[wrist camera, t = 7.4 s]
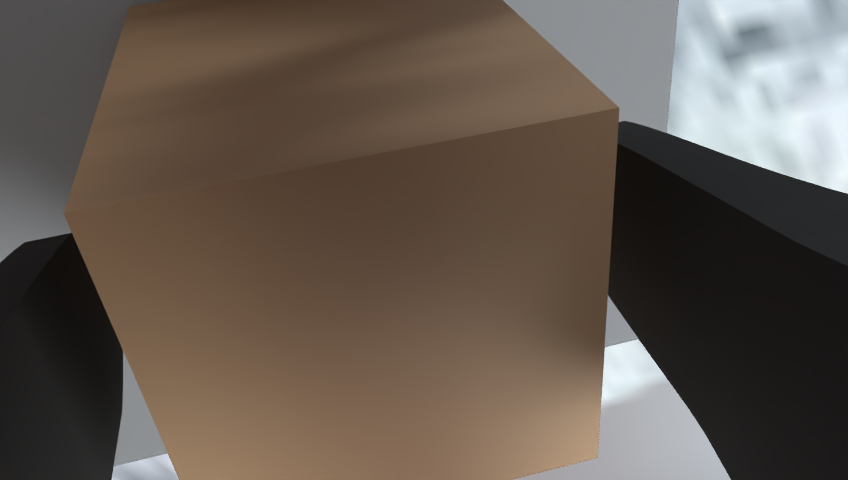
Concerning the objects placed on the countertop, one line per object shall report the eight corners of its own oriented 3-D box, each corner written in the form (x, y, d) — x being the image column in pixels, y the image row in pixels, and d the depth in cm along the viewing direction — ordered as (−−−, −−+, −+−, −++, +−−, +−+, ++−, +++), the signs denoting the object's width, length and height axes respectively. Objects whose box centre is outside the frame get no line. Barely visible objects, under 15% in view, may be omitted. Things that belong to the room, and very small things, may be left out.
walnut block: (453, -46, 12) (618, 107, 7) (471, 219, 15) (597, 457, 10) (129, 6, 11) (64, 212, 6) (213, 272, 14) (212, 556, 9)
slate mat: (705, -369, 10) (713, -370, 10) (643, 331, 18) (647, 336, 18) (-325, -250, 9) (-335, -249, 9) (79, 467, 16) (78, 474, 16)
